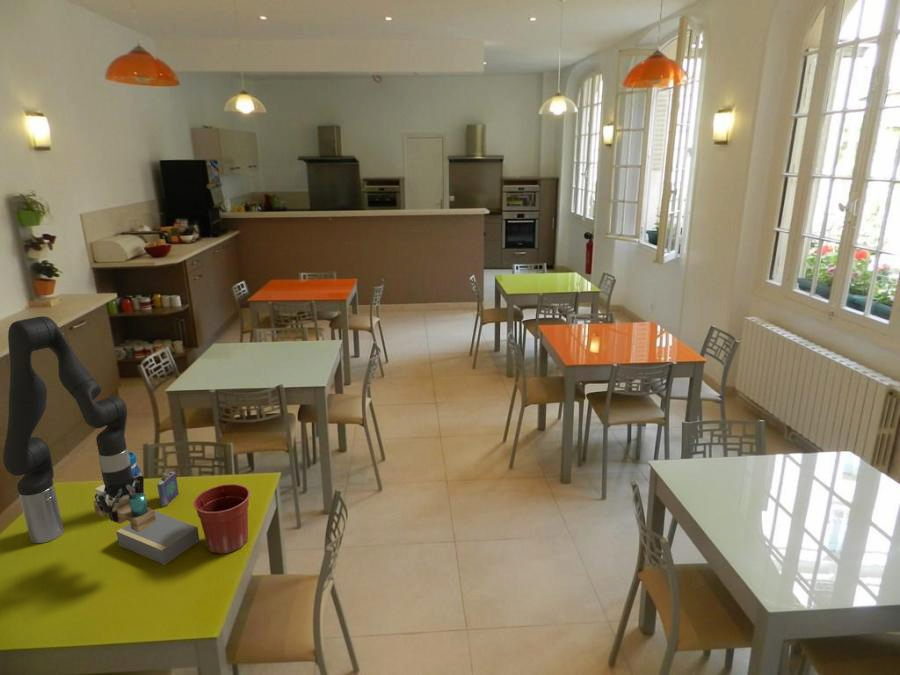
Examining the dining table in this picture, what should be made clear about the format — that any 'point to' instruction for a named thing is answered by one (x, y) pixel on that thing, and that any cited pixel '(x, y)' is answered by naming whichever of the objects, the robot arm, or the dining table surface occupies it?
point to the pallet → (130, 515)
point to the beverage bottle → (133, 470)
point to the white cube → (100, 490)
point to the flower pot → (224, 516)
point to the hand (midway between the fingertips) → (125, 515)
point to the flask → (167, 488)
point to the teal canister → (138, 504)
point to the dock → (160, 538)
